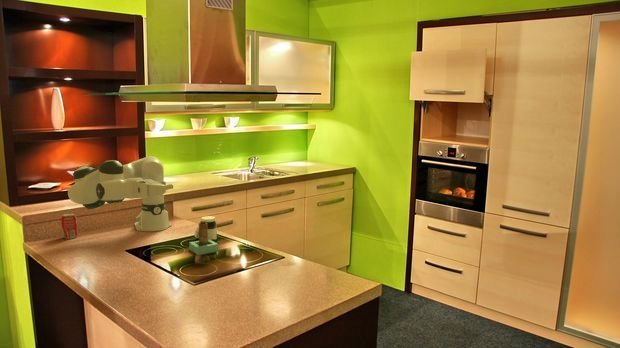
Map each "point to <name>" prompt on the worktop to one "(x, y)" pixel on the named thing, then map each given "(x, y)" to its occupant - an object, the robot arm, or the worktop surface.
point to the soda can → (69, 226)
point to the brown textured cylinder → (203, 233)
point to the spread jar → (209, 228)
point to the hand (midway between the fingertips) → (168, 184)
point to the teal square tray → (203, 247)
